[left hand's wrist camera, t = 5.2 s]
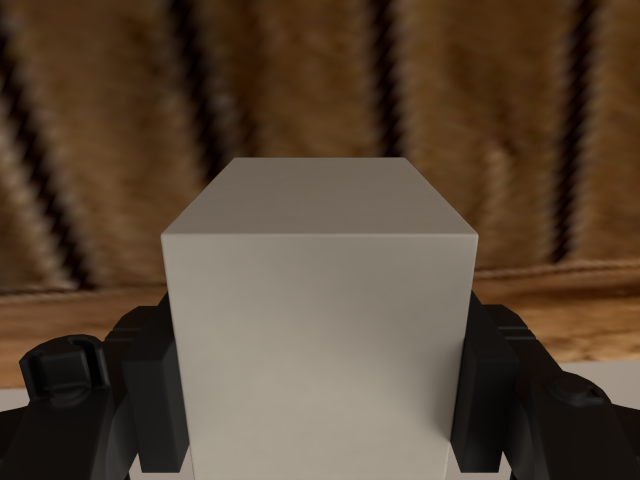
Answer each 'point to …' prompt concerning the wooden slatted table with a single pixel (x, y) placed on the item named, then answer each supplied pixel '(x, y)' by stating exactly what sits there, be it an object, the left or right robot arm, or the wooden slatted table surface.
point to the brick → (319, 320)
